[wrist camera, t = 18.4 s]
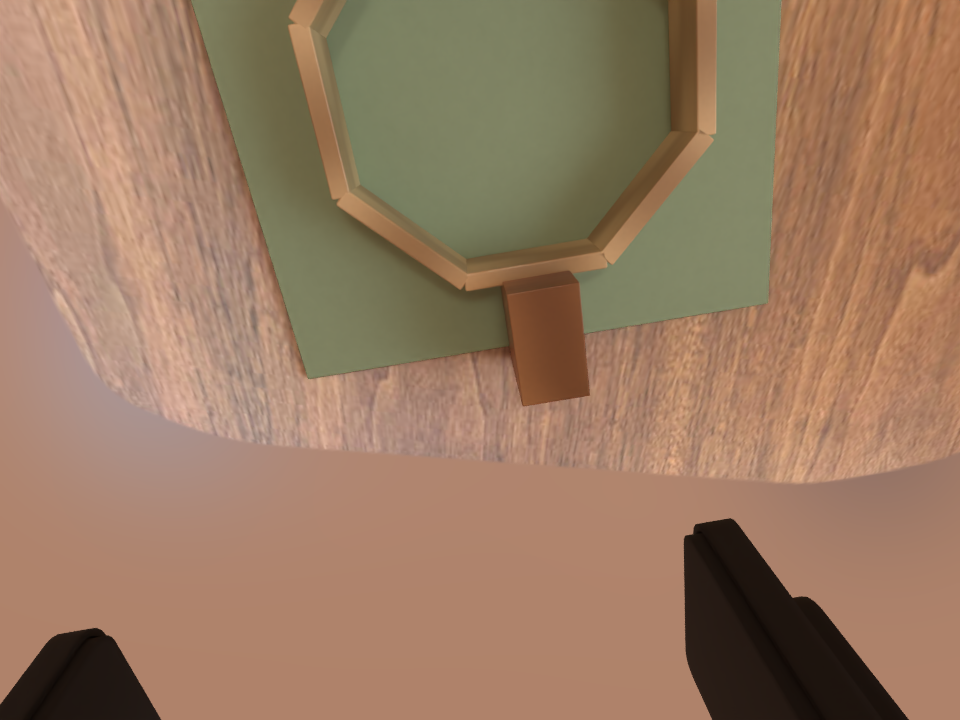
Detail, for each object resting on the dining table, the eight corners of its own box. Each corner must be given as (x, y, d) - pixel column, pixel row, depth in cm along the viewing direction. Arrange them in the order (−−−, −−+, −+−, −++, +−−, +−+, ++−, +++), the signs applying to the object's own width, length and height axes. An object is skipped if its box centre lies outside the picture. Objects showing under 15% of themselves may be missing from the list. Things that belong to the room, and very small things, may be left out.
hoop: (391, 382, 30) (379, 430, 25) (271, -106, 21) (222, -168, 17) (690, 333, 29) (735, 372, 25) (684, -182, 21) (748, -266, 16)
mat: (309, 376, 30) (307, 379, 29) (125, -221, 20) (119, -228, 20) (764, 301, 29) (768, 303, 29) (791, -347, 20) (797, -356, 19)
